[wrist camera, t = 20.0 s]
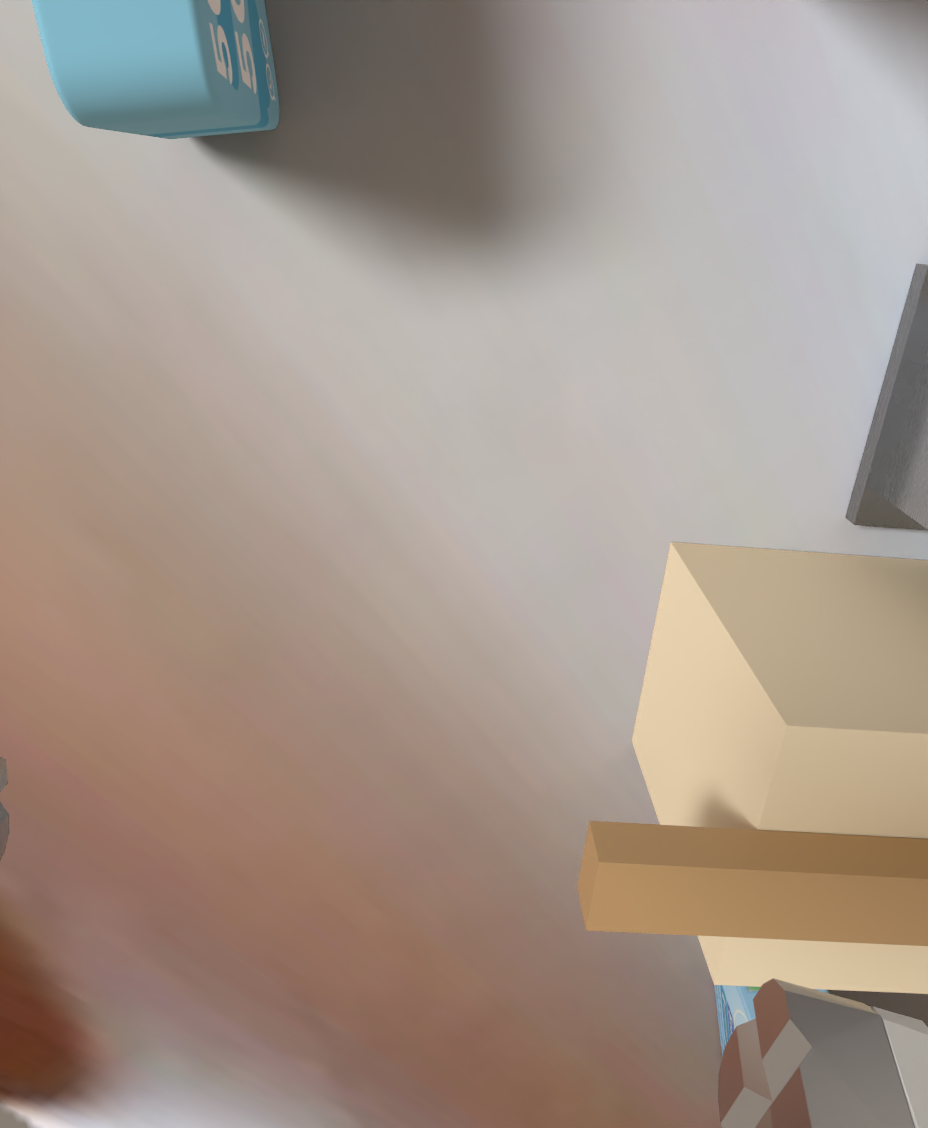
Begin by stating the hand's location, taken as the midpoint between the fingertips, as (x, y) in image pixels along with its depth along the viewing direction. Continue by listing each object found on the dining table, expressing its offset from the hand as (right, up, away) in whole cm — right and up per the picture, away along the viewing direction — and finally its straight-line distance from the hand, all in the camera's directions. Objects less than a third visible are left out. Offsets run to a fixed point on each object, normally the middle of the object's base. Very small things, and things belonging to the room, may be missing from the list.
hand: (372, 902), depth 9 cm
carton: (+19, -1, +37) cm, 42 cm away
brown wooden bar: (+16, -8, +22) cm, 29 cm away
